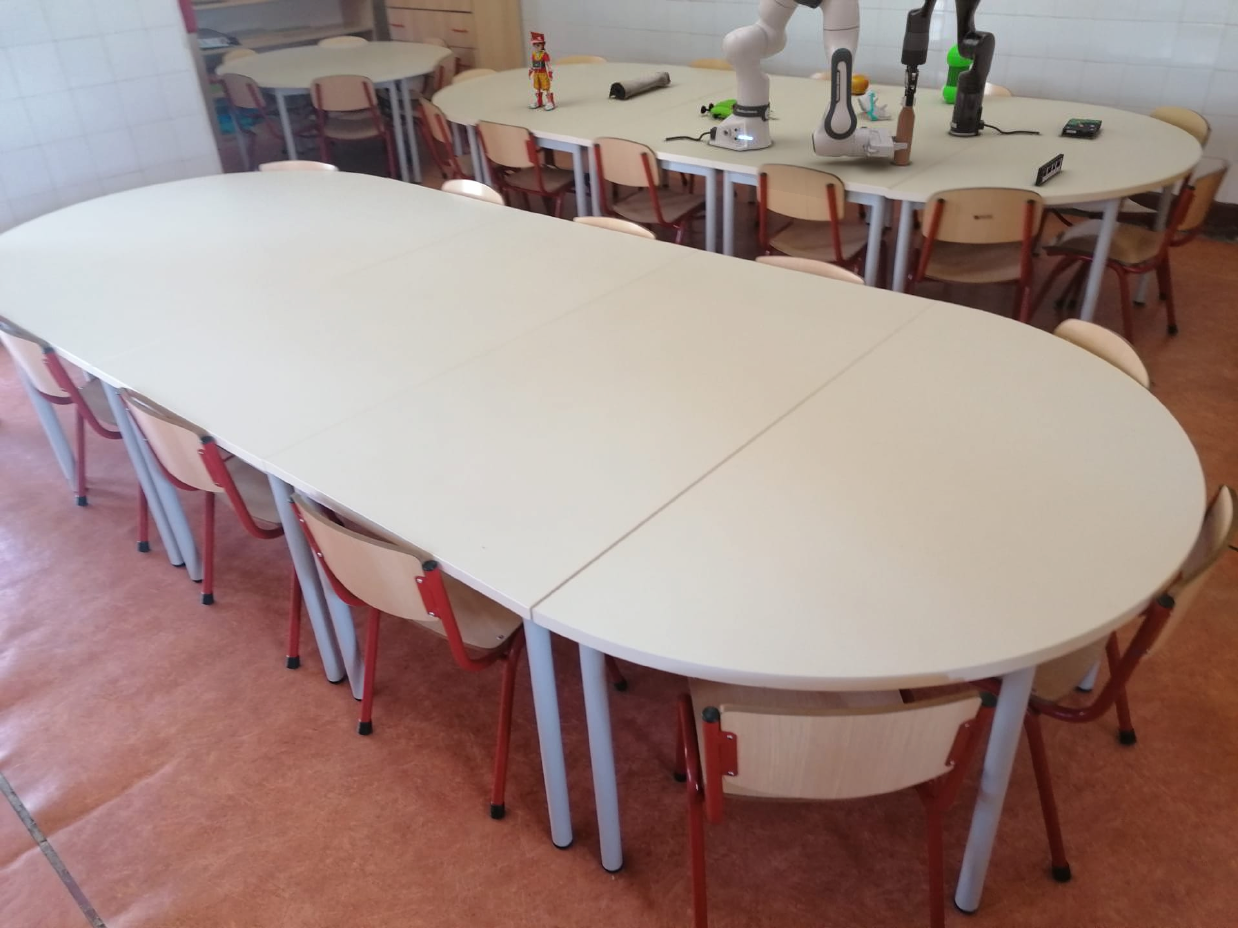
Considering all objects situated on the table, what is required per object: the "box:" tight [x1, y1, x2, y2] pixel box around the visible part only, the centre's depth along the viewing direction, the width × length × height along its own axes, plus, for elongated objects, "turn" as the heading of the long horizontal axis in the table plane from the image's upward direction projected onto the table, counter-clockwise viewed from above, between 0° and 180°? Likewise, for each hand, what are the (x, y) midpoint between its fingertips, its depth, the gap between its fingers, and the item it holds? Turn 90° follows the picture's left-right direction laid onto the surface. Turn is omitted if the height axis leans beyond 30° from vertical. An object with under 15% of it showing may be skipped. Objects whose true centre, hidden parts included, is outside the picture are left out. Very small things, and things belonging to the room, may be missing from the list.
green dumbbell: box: [942, 43, 973, 104], centre depth 348 cm, size 10×10×25 cm
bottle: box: [892, 106, 916, 166], centre depth 289 cm, size 5×5×20 cm
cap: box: [900, 96, 917, 108], centre depth 284 cm, size 4×4×2 cm
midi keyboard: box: [1035, 153, 1065, 186], centre depth 273 cm, size 18×1×5 cm, turn 138°
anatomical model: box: [857, 89, 892, 121], centre depth 341 cm, size 15×10×10 cm
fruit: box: [851, 74, 870, 95], centre depth 372 cm, size 8×8×8 cm
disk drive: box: [1061, 117, 1103, 139], centre depth 311 cm, size 10×3×15 cm
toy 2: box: [700, 99, 777, 120], centre depth 353 cm, size 28×5×30 cm
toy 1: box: [527, 31, 556, 111], centre depth 374 cm, size 12×9×30 cm
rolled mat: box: [608, 71, 672, 101], centre depth 395 cm, size 30×9×10 cm
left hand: (906, 142), depth 291 cm, fingers closed on bottle, 5 cm apart
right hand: (908, 103), depth 284 cm, fingers open, 6 cm apart
